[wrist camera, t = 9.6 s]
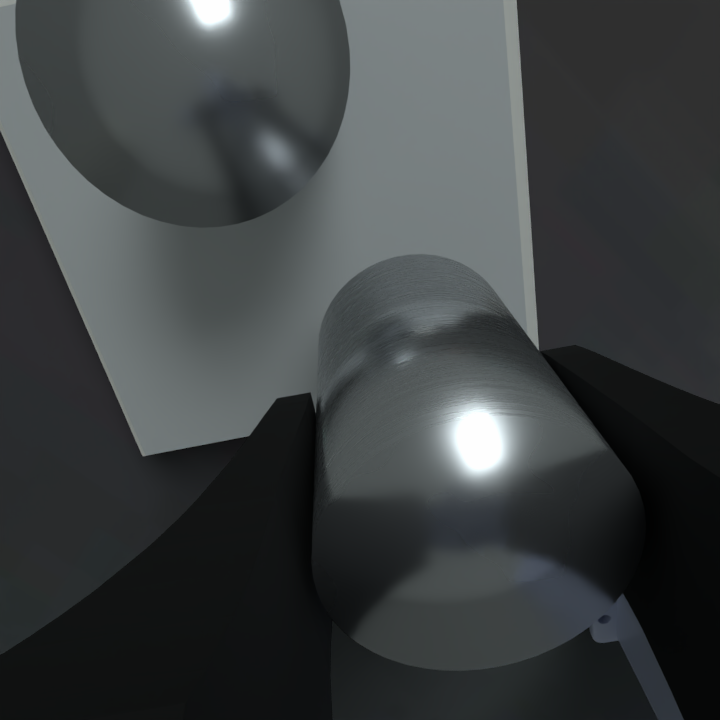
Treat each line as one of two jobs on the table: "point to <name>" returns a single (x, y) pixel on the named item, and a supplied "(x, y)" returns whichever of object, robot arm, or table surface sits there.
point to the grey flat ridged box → (296, 222)
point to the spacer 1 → (189, 98)
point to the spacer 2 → (458, 478)
